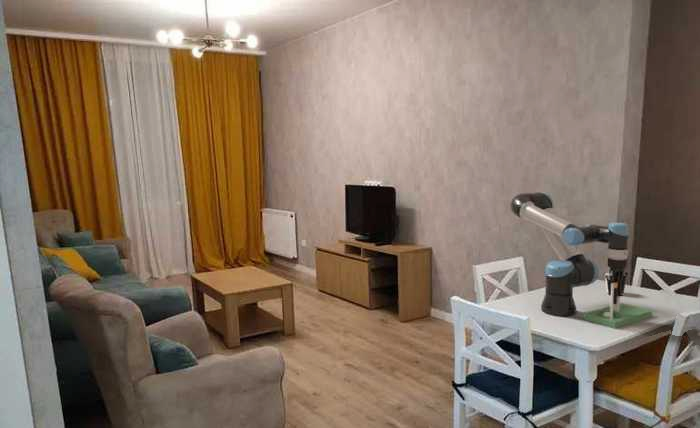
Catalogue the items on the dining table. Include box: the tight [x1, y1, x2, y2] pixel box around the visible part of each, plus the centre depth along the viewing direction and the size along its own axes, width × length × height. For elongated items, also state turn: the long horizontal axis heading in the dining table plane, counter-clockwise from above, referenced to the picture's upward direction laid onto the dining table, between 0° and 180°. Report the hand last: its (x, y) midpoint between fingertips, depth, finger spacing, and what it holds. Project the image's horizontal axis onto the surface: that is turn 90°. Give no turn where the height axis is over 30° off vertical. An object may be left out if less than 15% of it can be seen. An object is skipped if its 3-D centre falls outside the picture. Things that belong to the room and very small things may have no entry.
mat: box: [583, 302, 653, 329], centre depth 210 cm, size 28×14×2 cm, turn 120°
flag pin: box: [609, 282, 617, 321], centre depth 200 cm, size 4×1×16 cm, turn 120°
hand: (615, 310), depth 209 cm, fingers closed
